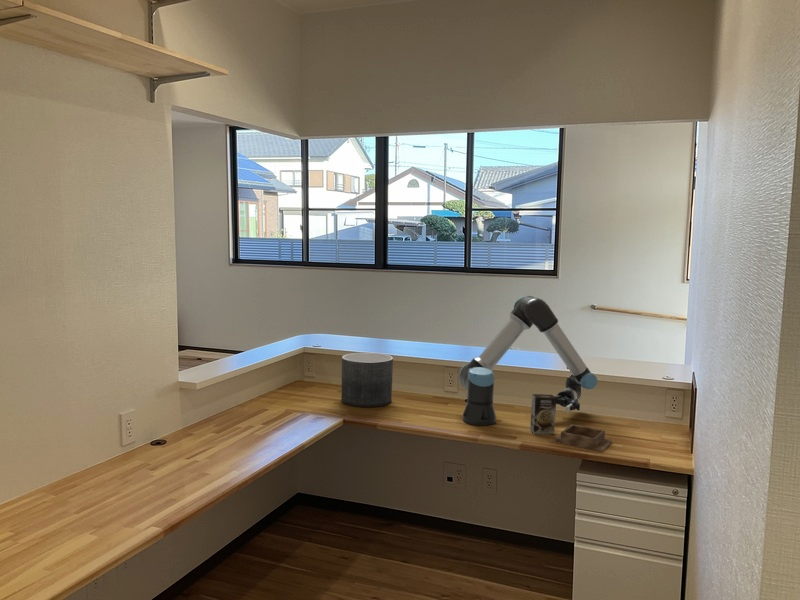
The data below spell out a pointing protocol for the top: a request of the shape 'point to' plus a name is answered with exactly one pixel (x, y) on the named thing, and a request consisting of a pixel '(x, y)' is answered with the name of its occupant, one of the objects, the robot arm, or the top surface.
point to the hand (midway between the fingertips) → (551, 407)
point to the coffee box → (543, 414)
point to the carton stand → (584, 438)
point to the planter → (367, 379)
